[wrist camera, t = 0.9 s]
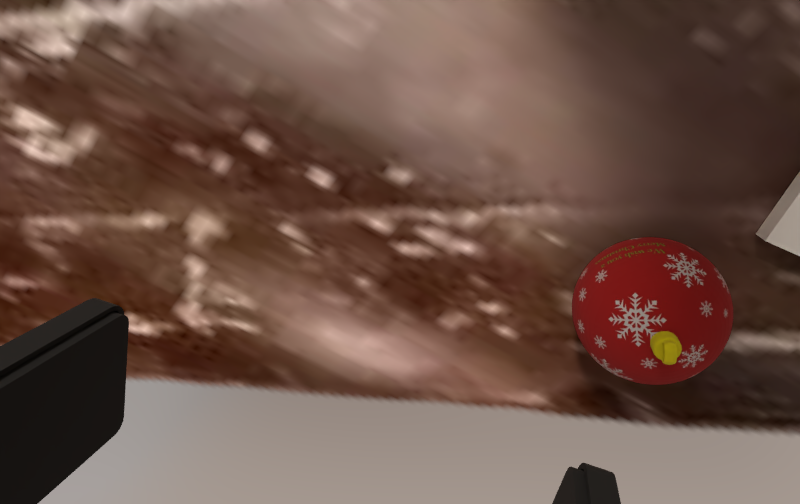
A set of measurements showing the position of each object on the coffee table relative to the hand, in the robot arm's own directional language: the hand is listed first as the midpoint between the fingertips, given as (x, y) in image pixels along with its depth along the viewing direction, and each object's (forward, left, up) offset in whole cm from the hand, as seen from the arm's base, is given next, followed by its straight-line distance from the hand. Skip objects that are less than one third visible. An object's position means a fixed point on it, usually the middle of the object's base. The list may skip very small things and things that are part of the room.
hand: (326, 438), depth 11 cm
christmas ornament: (+2, +13, -28) cm, 31 cm away
